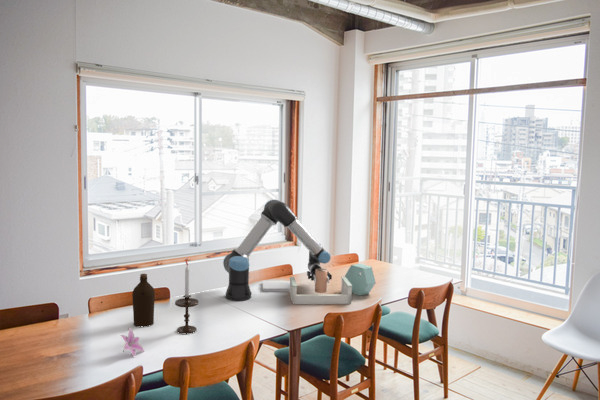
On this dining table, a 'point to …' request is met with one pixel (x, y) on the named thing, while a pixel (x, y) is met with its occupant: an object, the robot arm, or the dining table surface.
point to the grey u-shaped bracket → (322, 295)
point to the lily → (132, 343)
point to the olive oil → (143, 303)
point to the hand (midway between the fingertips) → (322, 280)
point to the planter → (361, 278)
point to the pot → (321, 280)
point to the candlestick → (186, 305)
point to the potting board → (276, 286)
